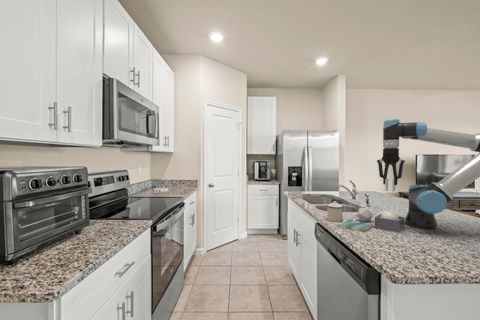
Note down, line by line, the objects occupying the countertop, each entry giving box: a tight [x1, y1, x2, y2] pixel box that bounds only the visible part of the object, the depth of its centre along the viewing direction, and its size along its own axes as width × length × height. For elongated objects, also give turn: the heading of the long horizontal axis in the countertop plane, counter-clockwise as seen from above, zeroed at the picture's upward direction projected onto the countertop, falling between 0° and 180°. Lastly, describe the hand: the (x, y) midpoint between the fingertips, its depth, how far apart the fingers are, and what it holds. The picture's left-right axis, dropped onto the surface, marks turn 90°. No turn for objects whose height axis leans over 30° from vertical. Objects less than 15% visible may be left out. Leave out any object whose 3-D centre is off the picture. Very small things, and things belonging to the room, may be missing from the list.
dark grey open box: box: [374, 213, 406, 234], centre depth 139 cm, size 12×12×6 cm
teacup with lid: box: [326, 200, 344, 223], centre depth 157 cm, size 12×9×12 cm
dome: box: [380, 210, 400, 221], centre depth 139 cm, size 9×9×9 cm
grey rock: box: [355, 207, 374, 223], centre depth 154 cm, size 8×9×10 cm
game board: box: [337, 219, 374, 233], centre depth 141 cm, size 14×14×1 cm
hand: (390, 190), depth 138 cm, fingers open, 3 cm apart
